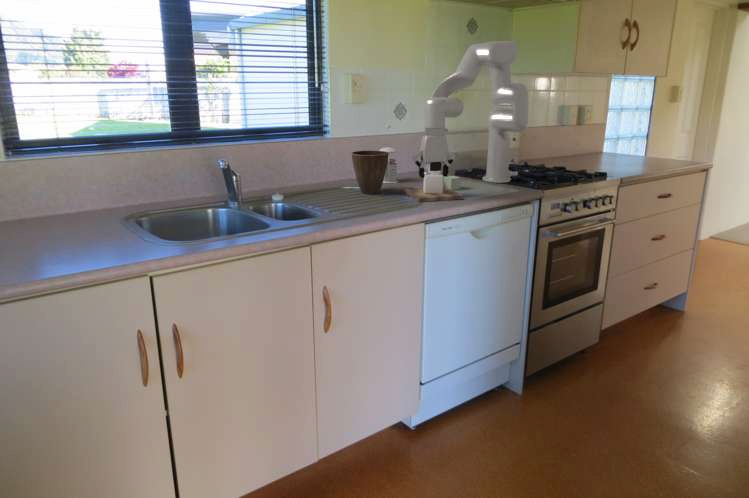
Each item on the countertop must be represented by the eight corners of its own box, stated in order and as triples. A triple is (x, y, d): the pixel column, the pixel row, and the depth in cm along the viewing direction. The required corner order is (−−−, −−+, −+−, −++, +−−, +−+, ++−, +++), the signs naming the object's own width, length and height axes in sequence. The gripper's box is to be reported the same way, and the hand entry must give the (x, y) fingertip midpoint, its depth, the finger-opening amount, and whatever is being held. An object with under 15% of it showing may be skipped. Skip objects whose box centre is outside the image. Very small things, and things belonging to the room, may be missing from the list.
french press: (399, 179, 239) (400, 123, 231) (397, 184, 228) (398, 126, 220) (377, 179, 240) (377, 123, 232) (375, 184, 229) (375, 125, 221)
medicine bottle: (441, 190, 210) (442, 160, 206) (442, 193, 203) (443, 162, 200) (423, 190, 210) (424, 160, 207) (424, 193, 204) (425, 162, 200)
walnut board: (444, 190, 217) (444, 186, 217) (462, 199, 201) (463, 195, 200) (403, 192, 213) (403, 188, 213) (418, 202, 196) (418, 198, 196)
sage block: (452, 187, 224) (453, 175, 222) (460, 189, 220) (460, 177, 218) (443, 188, 221) (443, 176, 220) (450, 190, 217) (451, 178, 216)
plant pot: (344, 192, 213) (343, 152, 208) (370, 187, 223) (370, 149, 218) (369, 197, 203) (369, 156, 198) (396, 192, 213) (396, 152, 208)
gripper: (452, 130, 205) (450, 174, 210) (410, 132, 201) (409, 176, 206) (459, 132, 198) (457, 177, 204) (416, 134, 194) (415, 180, 199)
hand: (433, 176), depth 205 cm, fingers open, 9 cm apart
